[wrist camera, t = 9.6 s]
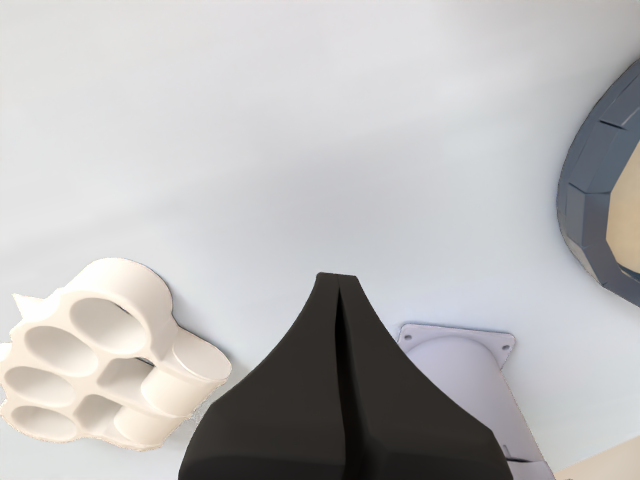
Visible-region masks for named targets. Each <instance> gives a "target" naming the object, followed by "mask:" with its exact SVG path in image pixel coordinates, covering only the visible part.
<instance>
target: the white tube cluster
mask: <svg viewBox="0 0 640 480" xmlns="http://www.w3.org/2000/svg"><path fill="white" fill-rule="evenodd" d="M12 295H13V297H14V299H15V301H16V303H17V306H18V308H19V310H20V312H21V314H22V317H23V320H22V321H21V322H20V323H18V324H17V325H16V326H15V327H14V328H13V329H12V330H11V331H10V333H9V335H10V338H11V342H8V343H0V384H1V385H2V387H3V388H4V390H5V393H6V400H5V401H4V402H3V403H2V404H1V406H0V415H1V416H2V418H3V419H4V420H5V421H6V422H7V423H8V424H9V425H10V426H11V427H13V428H14V429H16V430H17V431H19V432H21V433H23V434H25V435H27V436H29V437H32V438H35V439H38V440H42V441H47V442H55V443H65V442H71V441H74V440H77V439H79V438H98V439H101V440H104V441H106V442H108V443H111V444H113V445H116V446H118V447H121V448H126V449H131V450H136V451H146V450H153V449H156V448H160V447H161V446H162V445H163V443H164V440H165V439H166V438H167V437H168V436H169V435H170V434H171V433H172V432H173V431H174V430H175V429H176V428H177V427H178V426H179V425H180V424H181V423H182V422H183V421H184V420H185V419H189V418H190V417H191V416H192V415H193V412H194V410H195V409H196V408H197V407H198V406H199V405H200V404H201V403H202V402H203V401H204V400H205V399H206V398H207V397H208V396H209V395H210V394H211V393H212V392H213V391H214V390H215V389H216V388H217V387H218V386H220V385H224V384H225V383H226V382H227V378H228V376H229V375H230V373H231V364H230V362H229V360H228V359H227V358H226V356H225V355H224V354H223V353H222V352H221V351H220V350H219V349H218V348H216V347H215V346H213V345H212V344H210V343H208V342H206V341H204V340H202V339H201V338H199V337H197V336H195V335H193V334H192V333H190V332H188V331H186V330H184V329H182V328H180V327H179V326H178V324H177V323H176V321H175V320H174V318H173V317H172V315H171V312H172V307H173V302H172V296H171V293H170V291H169V289H168V287H167V286H166V284H165V283H164V281H163V280H162V279H161V278H160V277H159V276H158V275H157V274H156V273H154V272H153V271H152V270H150V269H149V268H147V267H145V266H144V265H142V264H139V263H137V262H134V261H131V260H128V259H123V258H104V259H99V260H96V261H94V262H92V263H90V264H89V265H88V266H87V267H86V268H85V269H84V270H82V271H81V272H80V273H79V274H78V275H77V276H76V277H75V278H74V279H73V280H72V281H71V282H70V283H69V284H68V285H67V286H66V287H65V288H58V289H57V290H56V291H55V292H53V293H52V294H51V295H50V296H48V297H47V298H46V299H40V298H35V297H29V296H23V295H18V294H12ZM113 302H114V303H116V304H117V305H119V306H121V307H122V308H124V309H125V310H126V311H127V312H128V313H130V314H131V315H130V314H128V313H126V312H125V311H123V310H122V309H120V308H119V307H118V306H117V305H116V304H114V303H113ZM136 357H143V358H146V359H148V360H150V361H151V362H152V363H153V364H154V365H155V367H153V366H151V365H149V364H147V363H145V362H143V361H141V360H139V359H137V358H136Z"/></svg>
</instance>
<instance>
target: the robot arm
mask: <svg viewBox="0 0 640 480" xmlns="http://www.w3.org/2000/svg"><path fill="white" fill-rule="evenodd" d="M407 335H410V336H407ZM406 336H407V337H406ZM515 342H516V340H515V338H514V337H513V335H511V334H504V333H495V332H485V331H475V330H466V329H456V328H446V327H436V326H427V325H417V324H406V325H404V326H403V327H402V329H401V333H400V336H399V339H398V343H396V342H395V340H394V339H393V338H392V336H391V335H390V334H389V332H388V331H387V329H386V328H385V326H384V325H383V323H382V322H381V320H380V319H379V317H378V316H377V314H376V312H375V311H374V309H373V307H372V306H371V304H370V302H369V300H368V298H367V297H366V295H365V293H364V291H363V289H362V287H361V285H360V283H359V280H358V278H357V277H356V276H352V275H342V274H333V273H323V272H320V273H318V274H317V276H316V281H315V284H314V287H313V290H312V292H311V294H310V296H309V298H308V300H307V302H306V304H305V306H304V307H303V309H302V311H301V312H300V314H299V316H298V317H297V319H296V320H295V322H294V323H293V325H292V326H291V328H290V329H289V330H288V332H287V333H286V334H285V336H284V337H283V338H282V340H281V341H280V342H279V343H278V344H277V346H276V347H275V348H274V349H273V350H272V351H271V352H270V353H269V355H268V356H267V357H266V358H265V359H264V360H263V361H262V362H261V363H260V364H259V365H258V366H257V367H256V368H255V369H254V370H252V371H251V372H250V373H249V374H248V375H247V376H246V377H245V378H244V379H243V380H242V381H240V382H239V383H238V384H237V385H236V386H234V387H233V388H232V389H231V390H229V391H228V392H227V393H225V394H224V395H223V396H221V397H220V398H219V399H218V400H216V401H215V402H214V403H212V404H211V405H210V407H209V409H208V410H207V412H206V413H205V415H204V416H203V418H202V420H201V421H200V423H199V425H198V427H197V428H196V430H195V432H194V434H193V436H192V438H191V441H190V443H189V445H188V447H187V450H186V453H185V456H184V458H183V461H182V464H181V467H180V470H179V475H178V480H556V479H555V477H554V475H553V473H552V471H551V469H550V468H549V466H548V464H547V462H546V461H545V460H544V458H543V456H542V454H541V452H540V450H539V448H538V445H537V443H536V441H535V439H534V437H533V435H532V433H531V431H530V429H529V427H528V425H527V423H526V421H525V419H524V417H523V415H522V413H521V411H520V409H519V407H518V405H517V403H516V401H515V399H514V397H513V395H512V393H511V391H510V389H509V386H508V384H507V382H506V380H505V378H504V376H503V374H502V372H501V369H502V367H503V365H504V363H505V362H506V360H507V358H508V356H509V354H510V352H511V350H512V348H513V346H514V344H515ZM505 345H506V346H505ZM568 480H572V479H568Z"/></svg>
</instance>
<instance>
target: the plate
mask: <svg viewBox="0 0 640 480" xmlns="http://www.w3.org/2000/svg"><path fill="white" fill-rule="evenodd" d="M557 217H558V222H559V226H560V230H561V233H562V236H563V238H564V240H565V242H566V245H567V246H568V247H569V249H570V250H571V252H572V253H573V255H574V256H575V257H576V258H577V259H578V260H579V261H580V262H581V263H582V265H583V267H584V269H585V270H586V271H587V272H588V273H589V274H590V275H591V276H592V277H593V278H594V279H595V280H596V281H597V282H598V283H599V284H600V285H601V286H603V287H604V288H606V289H608V290H610V291H611V292H613V293H615V294H617V295H619V296H620V297H622V298H624V299H626V300H627V301H629V302H631V303H633V304H635V305H636V306H638V307H640V59H638V60H637V61H636V62H635V63H634V64H633V65H631V66H630V67H629V68H628V69H627V70H626V71H625V73H624V74H623V75H622V76H621V77H620V78H619V79H618V80H617V81H616V82H615V83H614V84H613V85H612V86H611V87H610V88H609V90H608V91H607V92H606V93H605V94H604V96H603V97H602V98H601V99H600V101H599V102H598V103H597V104H596V106H595V107H594V108H593V110H592V111H591V113H590V114H589V116H588V117H587V119H586V120H585V122H584V123H583V125H582V126H581V128H580V130H579V132H578V134H577V136H576V138H575V139H574V141H573V143H572V145H571V147H570V150H569V152H568V155H567V157H566V160H565V162H564V165H563V168H562V172H561V176H560V180H559V184H558V193H557Z"/></svg>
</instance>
